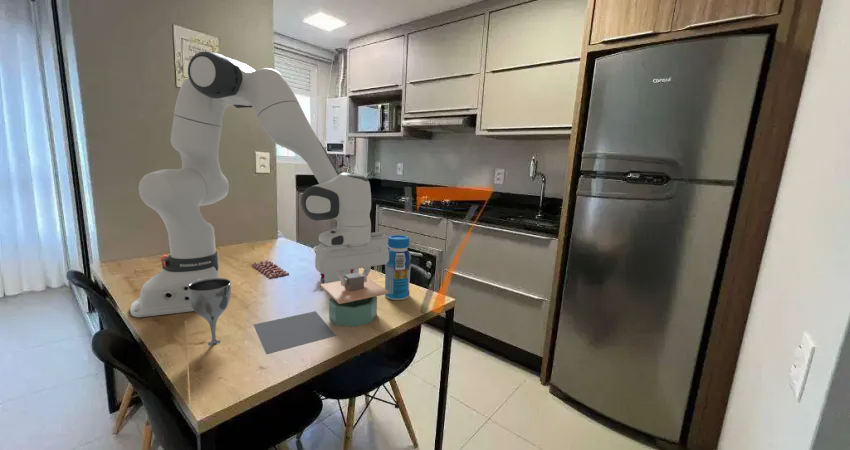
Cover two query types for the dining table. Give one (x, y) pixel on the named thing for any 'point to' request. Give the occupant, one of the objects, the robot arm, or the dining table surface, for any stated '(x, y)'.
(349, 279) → the cover
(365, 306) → the bowl
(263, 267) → the chocolate bar
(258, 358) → the dining table surface
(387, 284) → the beverage bottle
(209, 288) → the wine glass
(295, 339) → the mat
